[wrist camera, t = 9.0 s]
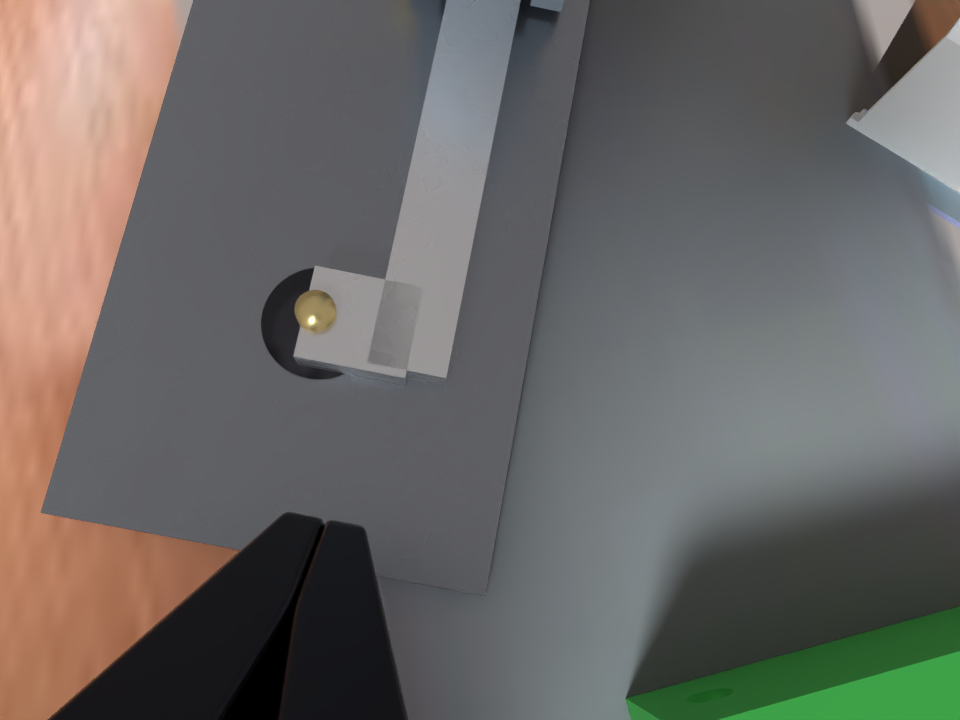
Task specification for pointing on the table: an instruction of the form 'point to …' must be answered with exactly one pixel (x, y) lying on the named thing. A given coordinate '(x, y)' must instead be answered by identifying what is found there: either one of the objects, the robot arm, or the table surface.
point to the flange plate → (330, 279)
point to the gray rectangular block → (548, 4)
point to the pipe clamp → (831, 680)
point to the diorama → (921, 109)
